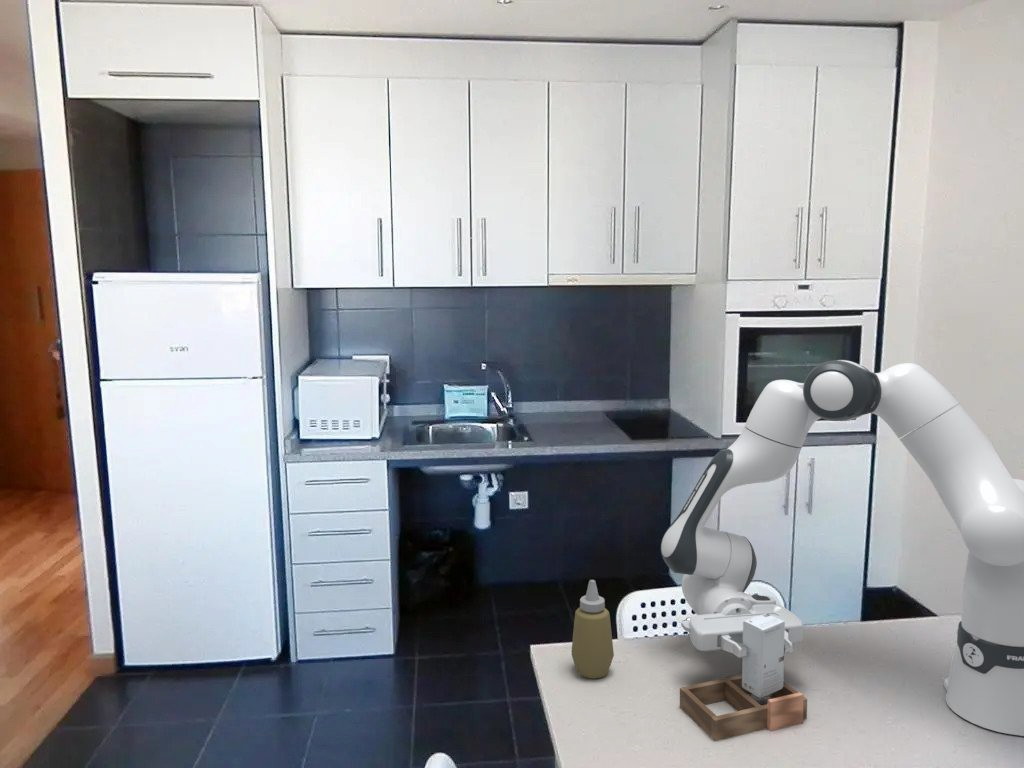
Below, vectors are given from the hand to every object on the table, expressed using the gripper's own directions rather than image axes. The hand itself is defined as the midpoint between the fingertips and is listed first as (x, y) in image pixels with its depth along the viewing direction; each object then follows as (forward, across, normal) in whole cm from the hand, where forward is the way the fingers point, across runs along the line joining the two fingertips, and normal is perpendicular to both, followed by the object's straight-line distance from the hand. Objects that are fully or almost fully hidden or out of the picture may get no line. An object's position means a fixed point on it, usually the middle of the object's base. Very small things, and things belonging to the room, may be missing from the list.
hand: (766, 651), depth 124 cm
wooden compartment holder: (0, -4, +11) cm, 11 cm away
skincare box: (-1, 0, +7) cm, 7 cm away
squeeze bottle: (-18, -26, +11) cm, 33 cm away
